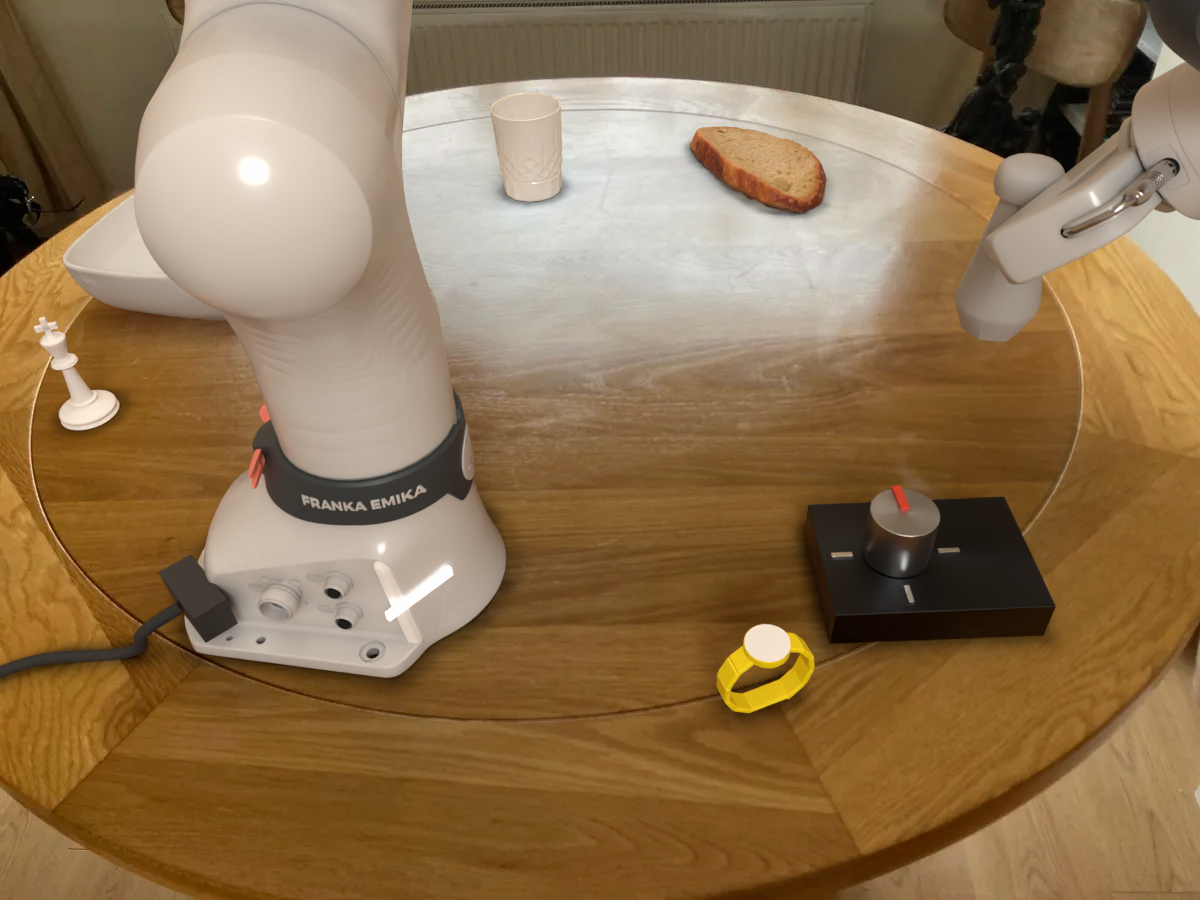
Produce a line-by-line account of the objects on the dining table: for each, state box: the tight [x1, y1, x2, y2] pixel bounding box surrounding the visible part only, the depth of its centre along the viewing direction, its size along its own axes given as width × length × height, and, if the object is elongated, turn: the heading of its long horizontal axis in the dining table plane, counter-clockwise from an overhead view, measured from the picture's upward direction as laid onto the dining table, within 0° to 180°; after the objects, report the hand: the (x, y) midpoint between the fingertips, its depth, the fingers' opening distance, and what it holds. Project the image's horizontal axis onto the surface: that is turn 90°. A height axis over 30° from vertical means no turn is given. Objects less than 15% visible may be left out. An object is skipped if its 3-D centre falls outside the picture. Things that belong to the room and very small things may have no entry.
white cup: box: [489, 92, 563, 203], centre depth 110 cm, size 8×8×10 cm
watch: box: [715, 623, 816, 714], centre depth 58 cm, size 6×3×6 cm, turn 109°
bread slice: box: [689, 126, 827, 214], centre depth 113 cm, size 18×18×4 cm
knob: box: [862, 484, 940, 578], centre depth 63 cm, size 4×4×4 cm
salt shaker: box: [954, 152, 1066, 343], centre depth 67 cm, size 6×6×13 cm
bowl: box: [61, 193, 228, 322], centre depth 98 cm, size 20×20×8 cm
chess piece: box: [33, 316, 120, 431], centre depth 82 cm, size 5×5×10 cm
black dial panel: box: [803, 496, 1057, 645], centre depth 66 cm, size 14×10×3 cm
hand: (1005, 235), depth 67 cm, fingers closed on salt shaker, 3 cm apart
